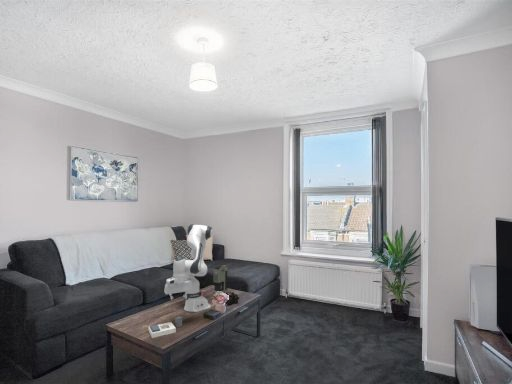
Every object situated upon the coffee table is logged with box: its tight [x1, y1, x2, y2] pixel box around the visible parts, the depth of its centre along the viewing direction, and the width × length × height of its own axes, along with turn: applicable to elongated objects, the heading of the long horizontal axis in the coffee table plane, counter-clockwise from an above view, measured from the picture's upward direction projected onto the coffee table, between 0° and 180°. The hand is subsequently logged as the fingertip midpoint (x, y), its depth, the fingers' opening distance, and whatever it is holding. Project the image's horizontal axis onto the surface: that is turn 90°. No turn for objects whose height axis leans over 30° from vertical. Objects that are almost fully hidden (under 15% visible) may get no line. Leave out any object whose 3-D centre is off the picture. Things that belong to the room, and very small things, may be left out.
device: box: [213, 263, 229, 295], centre depth 283 cm, size 14×8×30 cm, turn 144°
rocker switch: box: [174, 315, 183, 328], centre depth 214 cm, size 4×4×6 cm
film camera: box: [224, 291, 240, 306], centre depth 261 cm, size 18×12×10 cm
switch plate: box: [147, 321, 177, 339], centre depth 204 cm, size 16×12×4 cm
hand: (178, 298), depth 214 cm, fingers open, 8 cm apart
